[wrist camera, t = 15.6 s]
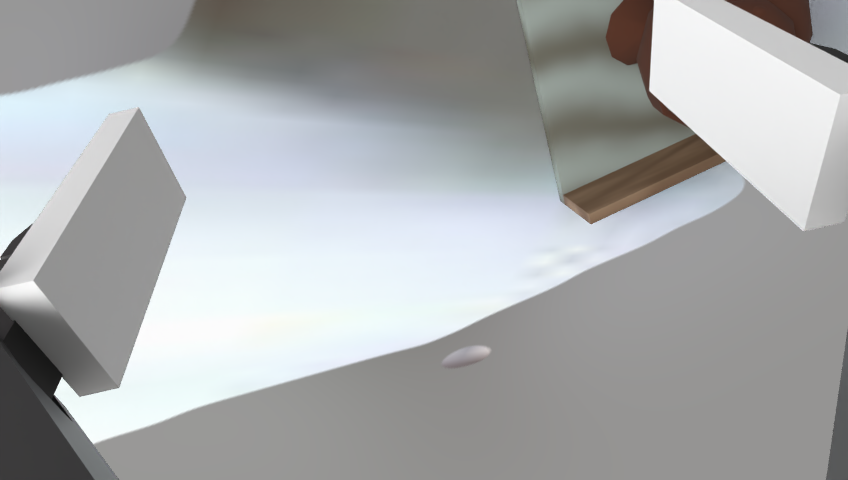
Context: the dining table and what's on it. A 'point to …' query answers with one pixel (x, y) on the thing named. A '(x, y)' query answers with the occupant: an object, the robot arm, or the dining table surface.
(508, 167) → the dining table surface
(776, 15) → the ice cream bowl
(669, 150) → the bay
